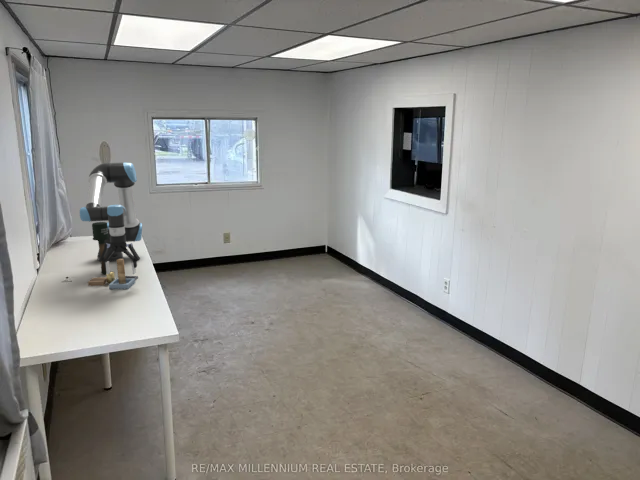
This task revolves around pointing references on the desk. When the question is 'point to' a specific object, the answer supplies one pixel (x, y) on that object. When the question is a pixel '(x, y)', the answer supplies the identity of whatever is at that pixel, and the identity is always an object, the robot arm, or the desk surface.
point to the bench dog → (110, 277)
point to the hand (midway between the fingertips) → (121, 273)
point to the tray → (116, 284)
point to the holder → (131, 277)
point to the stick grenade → (100, 239)
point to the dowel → (121, 271)
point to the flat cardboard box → (97, 281)
